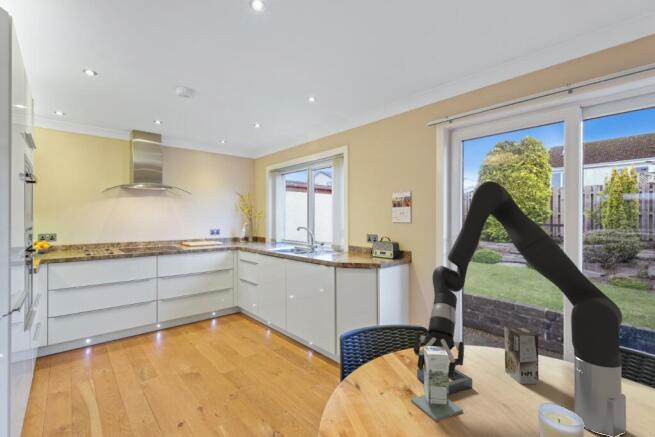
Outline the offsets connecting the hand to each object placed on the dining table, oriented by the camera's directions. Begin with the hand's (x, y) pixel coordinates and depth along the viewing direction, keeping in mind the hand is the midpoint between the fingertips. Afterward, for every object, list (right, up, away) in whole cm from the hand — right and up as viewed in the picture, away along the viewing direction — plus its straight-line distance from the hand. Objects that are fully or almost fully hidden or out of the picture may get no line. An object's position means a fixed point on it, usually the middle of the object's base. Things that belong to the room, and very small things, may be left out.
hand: (434, 373), depth 86 cm
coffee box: (+36, -10, +17) cm, 41 cm away
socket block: (+8, -10, +13) cm, 19 cm away
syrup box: (+1, -8, +1) cm, 8 cm away
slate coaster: (+1, -10, +1) cm, 10 cm away
